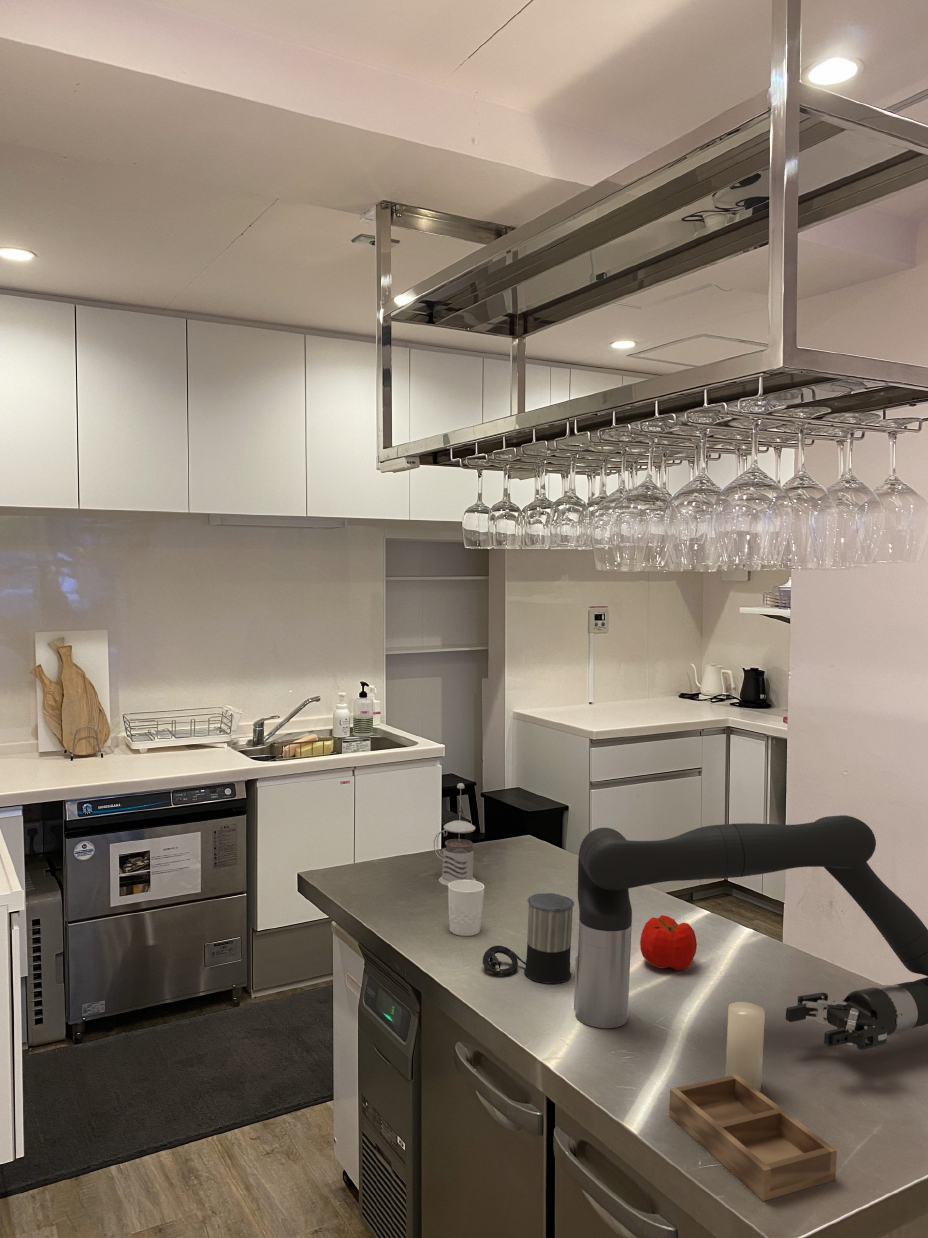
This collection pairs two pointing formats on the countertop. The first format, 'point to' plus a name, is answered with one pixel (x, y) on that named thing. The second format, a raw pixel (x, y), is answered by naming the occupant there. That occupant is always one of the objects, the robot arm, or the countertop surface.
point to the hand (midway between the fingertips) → (806, 1027)
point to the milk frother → (541, 941)
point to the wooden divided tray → (753, 1136)
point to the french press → (459, 870)
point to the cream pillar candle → (745, 1042)
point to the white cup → (465, 906)
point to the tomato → (668, 943)
